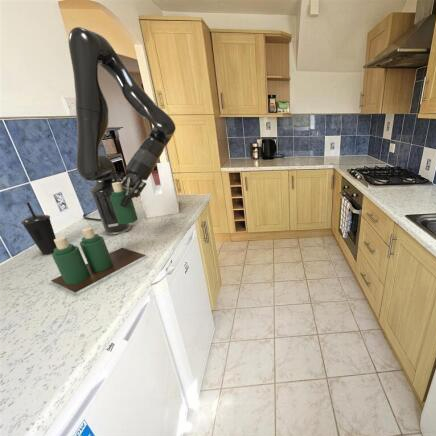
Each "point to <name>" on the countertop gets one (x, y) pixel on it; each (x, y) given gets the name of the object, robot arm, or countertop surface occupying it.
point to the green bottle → (122, 213)
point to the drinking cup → (40, 231)
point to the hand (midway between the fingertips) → (117, 204)
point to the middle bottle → (95, 251)
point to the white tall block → (160, 193)
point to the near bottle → (69, 262)
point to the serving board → (119, 261)
